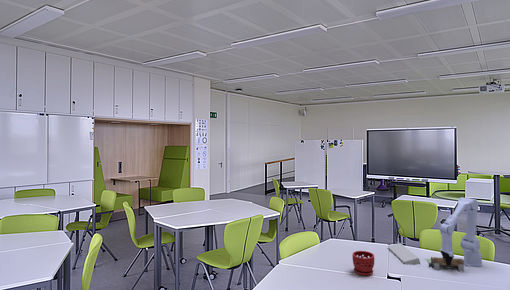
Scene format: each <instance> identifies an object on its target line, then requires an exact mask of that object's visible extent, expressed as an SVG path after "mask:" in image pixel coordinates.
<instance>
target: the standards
mask: <svg viewBox="0 0 510 290" xmlns="http://www.w3.org/2000/svg"><path fill="white" fill-rule="evenodd" d="M428 267H429V268H432V269H433V270H434V271H440V267H442V268H443V269H446V268H447V269H455V270H456V271H458V272H460V271H462V272H461V273H463V272H465V264H458V266H449V265H439V263H434V265H433V264H432V263H429V262H428Z"/></svg>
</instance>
